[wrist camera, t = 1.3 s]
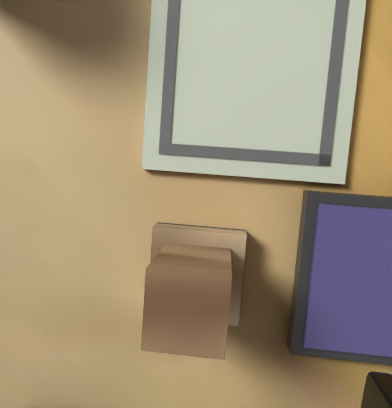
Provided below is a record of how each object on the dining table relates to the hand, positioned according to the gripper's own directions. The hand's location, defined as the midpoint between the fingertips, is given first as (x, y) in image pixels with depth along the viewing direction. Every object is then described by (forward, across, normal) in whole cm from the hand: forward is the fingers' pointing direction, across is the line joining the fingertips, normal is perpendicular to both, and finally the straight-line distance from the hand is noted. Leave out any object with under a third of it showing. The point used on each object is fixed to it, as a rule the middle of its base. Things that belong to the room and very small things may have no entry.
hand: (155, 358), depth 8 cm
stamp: (+12, +1, +3) cm, 13 cm away
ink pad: (+13, -8, +3) cm, 16 cm away
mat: (+14, -1, -8) cm, 16 cm away
